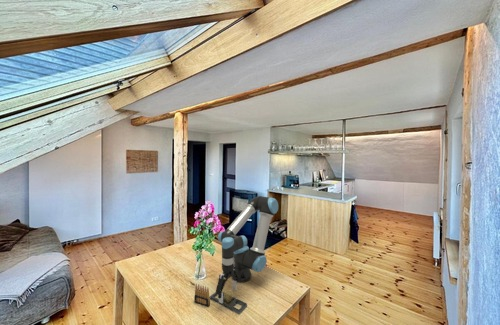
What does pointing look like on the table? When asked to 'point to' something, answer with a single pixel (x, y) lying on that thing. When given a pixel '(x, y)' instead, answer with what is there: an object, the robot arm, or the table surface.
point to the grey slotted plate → (230, 305)
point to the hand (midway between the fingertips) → (228, 296)
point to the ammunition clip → (202, 296)
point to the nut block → (228, 296)
